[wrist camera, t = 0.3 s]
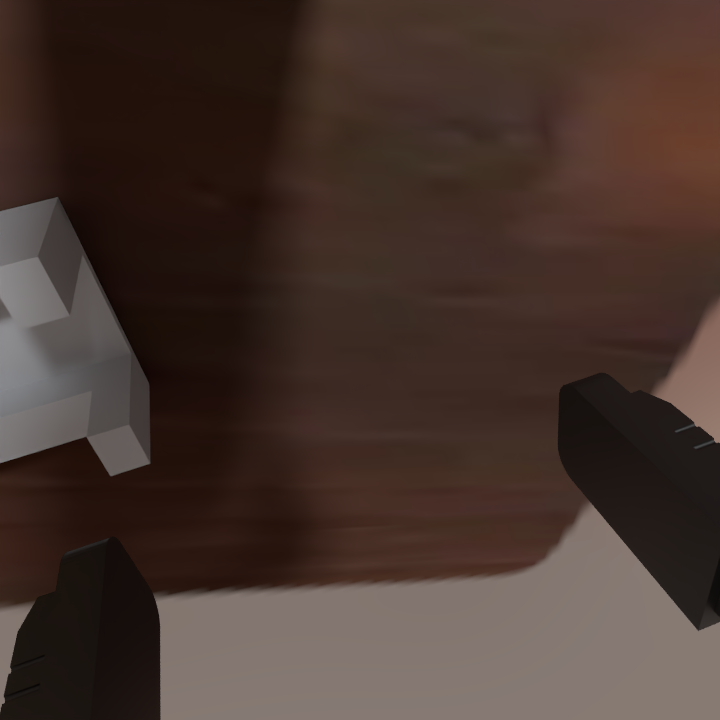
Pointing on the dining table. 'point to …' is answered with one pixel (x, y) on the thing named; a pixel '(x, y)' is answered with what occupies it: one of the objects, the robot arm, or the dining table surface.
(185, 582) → the dining table surface
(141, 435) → the white peg rack
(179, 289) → the dining table surface
